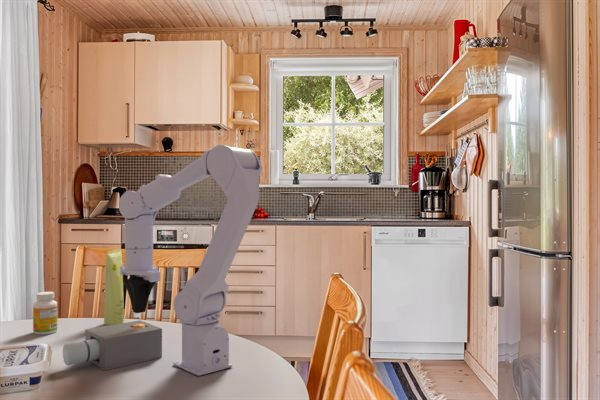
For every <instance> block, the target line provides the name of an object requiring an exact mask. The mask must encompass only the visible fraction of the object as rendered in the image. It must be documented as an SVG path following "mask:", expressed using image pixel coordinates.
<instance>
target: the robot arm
mask: <svg viewBox="0 0 600 400" xmlns="http://www.w3.org/2000/svg"><path fill="white" fill-rule="evenodd" d="M262 171H263V166H262V164H261V161H260V159H259V157H258V154H257V153H256V151H253V150H252V149H250V148H240V147H233V146H228V145H225V144H217V145H216V146H214V147H212V148H211V149H209V150H205V151H204V152H203V154H202V155H201V156H199V158H197V159H196V160H194V161H193V162H191V163H189V164H188V165H187V166H185V167H184V168H182V169H181V170H179V171H178V172H176V173H174V175H170V174H161V173H160V174H159V173H158V174H157V175H156V176H155V177H154V180H152V181H151V182H149V183H148V184H142V185H140V186H139V189H137V190H136V191H135V190H126V191H125V192H124V193H122V195H121V197H120V198H119V200H118V210H119V213H120V215H121V216H122V217H123V218H124V248H125V249H124V265H122V266H120V275H123V276H129V277H128V278H126V279H123V286H124V287H125V288H126V292H127V293H128V296H129V299H130V303H131V308H132V309H131V310H132V311H133V313H134V314H141V313H146V311H147V305H148V301H149V298H150V294H151V292H152V290H153V288H154V286H155V284H156V282H161V271H159V267H158V266H154V225H155V224H156V216H157V215H158V214H159V210H161V209H162V208H165V207H166V206H168V205H170V204H171V203H173V202H175V201H177V200H178V199H179V198H180V197H181V194H182V191H183V190H185V189H187V188H189V187H191V186H194V184H198V183H199V182H201V181H203V180H206V179H207V178H210V177H212V178H213V180H215V182H216V183H217V184H218V186H219V187H220V189H221V190H222V191H223V192H224V194H225V196H226V200H227V201H226V204H225V206H224V208H223V211H222V213H221V215H220V219H219V220H218V223H217V225H216V227H215V230H214V232H213V234H212V237H211V239H210V241H209V245H208V246H207V248H206V249H207V250H206V251H205V254H204V255H203V258H202V260H201V264H200V266H199V268H198V270H197V272H196V273H195V274H194V275H193V276H192V277H190V278H189V279H188V280H187V281H186V282H185V285H184V286H183V288H182V289H181V291H179V292H178V293H177V294H176V296H175V298H174V301H173V310H174V314H175V315H176V317H177V319H178V320H179V323H180V324H181V359H180V360H179V359H178V360H175V361H173V363H172V364H173V366H175V367H178V368H180V369H182V370H185V371H186V372H189V373H190V374H194V375H196V376H203V375H208V374H210V373H214V372H217V371H222V370H225V369H229V368H232V367H233V363H230V362H229V361H230V355H229V354H230V353H229V352H230V351H229V350H230V345H229V344H230V342H229V341H230V338H229V333H228V330H227V329H226V328H224V327H223V326H222V325H221V323H220V319H221V312H223V310H224V309H225V307H226V305H227V292H228V290H229V288H230V287H229V285H228V282H227V281H226V278H227V275H228V273H229V271H230V268H231V265H232V264H233V261H234V259H235V257H236V254H237V252H238V250H239V249H240V248H239V247H240V245H241V243H242V240H243V238H244V236H245V234H246V231H247V229H248V226H249V225H250V222H251V220H252V218H253V215H254V212H255V211H256V209H257V207H258V204H259V201H260V175H261V173H262Z"/></svg>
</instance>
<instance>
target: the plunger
mask: <svg viewBox="0 0 600 400" xmlns="http://www.w3.org/2000/svg"><path fill="white" fill-rule="evenodd" d="M143 327H145V324H134V325H133V328H135V329H138V328H143Z"/></svg>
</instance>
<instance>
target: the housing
mask: <svg viewBox="0 0 600 400" xmlns="http://www.w3.org/2000/svg"><path fill="white" fill-rule="evenodd" d="M134 324H145V327H143V328H138V329H135V328H133V325H134ZM84 332H85V333H84V335H85V337H84V340H91V339H99V340H100V359H96V360H91V363H92V364H94V365H95V366H97V367H99V368H100V369H102V370H104V371H108V370H114V369H117V368H121V367H126V366H130V365H133V364H138V363H143V362H147V361H152V360H156V359H161V358H162V357H163V329H162V327H158V326H156V325H153V324H150V323H147V322H145V321H143V320H140V319H139V320H134V321H128V322H123V323H121V324H115V325H104V326H99V327H97V326H96V327H93V328H87V329H84Z"/></svg>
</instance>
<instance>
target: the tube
mask: <svg viewBox="0 0 600 400" xmlns="http://www.w3.org/2000/svg"><path fill="white" fill-rule="evenodd" d="M120 266H123V254H122V248H118V249H114V250H109V251H107V252H106V257H105V272H104V273H105V276H104V277H105V278H104V301H103V302H104V305H103V310H104V312H103V314H104V315H103V323H104V326H109V325H115V324H121V323H125V313H124V311H125V310H124V309H125V306H124V305H125V304H124V303H125V302H124V297H125V296H124V284H123V280H124V275H120Z"/></svg>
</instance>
